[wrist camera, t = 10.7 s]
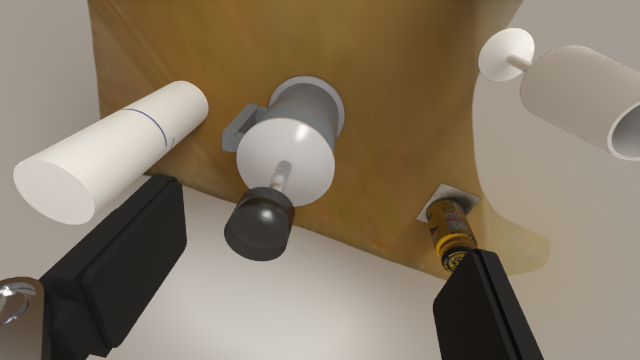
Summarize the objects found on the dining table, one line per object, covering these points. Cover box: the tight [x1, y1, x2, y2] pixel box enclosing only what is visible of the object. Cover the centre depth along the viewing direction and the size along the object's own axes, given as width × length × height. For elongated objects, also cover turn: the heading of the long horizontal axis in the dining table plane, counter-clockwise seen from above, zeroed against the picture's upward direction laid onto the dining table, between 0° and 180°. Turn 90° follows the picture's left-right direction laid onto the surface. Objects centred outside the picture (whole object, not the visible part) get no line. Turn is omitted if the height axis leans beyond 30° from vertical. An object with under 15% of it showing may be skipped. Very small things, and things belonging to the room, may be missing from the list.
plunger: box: [224, 161, 295, 261], centre depth 29 cm, size 5×5×11 cm
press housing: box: [222, 75, 345, 207], centre depth 41 cm, size 14×12×16 cm
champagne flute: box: [478, 28, 640, 161], centre depth 30 cm, size 7×7×24 cm
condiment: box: [416, 183, 481, 273], centre depth 49 cm, size 7×8×12 cm
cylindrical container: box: [14, 81, 208, 225], centre depth 38 cm, size 7×7×25 cm
